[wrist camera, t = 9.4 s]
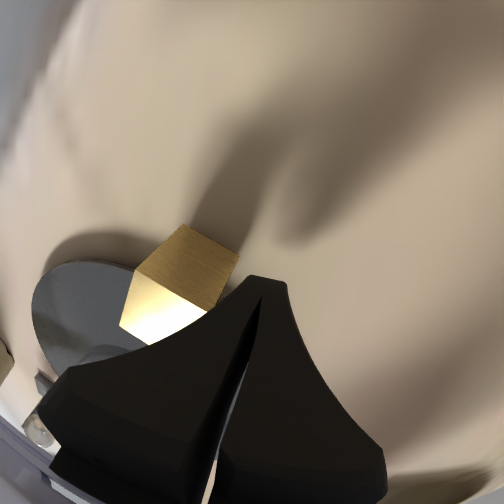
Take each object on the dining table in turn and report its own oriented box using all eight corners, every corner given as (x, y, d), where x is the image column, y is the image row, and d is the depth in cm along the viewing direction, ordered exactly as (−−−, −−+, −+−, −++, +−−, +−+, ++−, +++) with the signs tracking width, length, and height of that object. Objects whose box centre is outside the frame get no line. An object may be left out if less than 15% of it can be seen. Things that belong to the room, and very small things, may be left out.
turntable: (397, 344, 11) (411, 408, 8) (216, 471, 21) (206, 502, 18) (47, 144, 10) (-12, 162, 7) (43, 371, 20) (23, 396, 17)
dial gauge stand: (77, 402, 22) (44, 451, 16) (77, 415, 24) (49, 459, 18) (38, 372, 22) (3, 416, 16) (42, 388, 24) (11, 428, 18)
